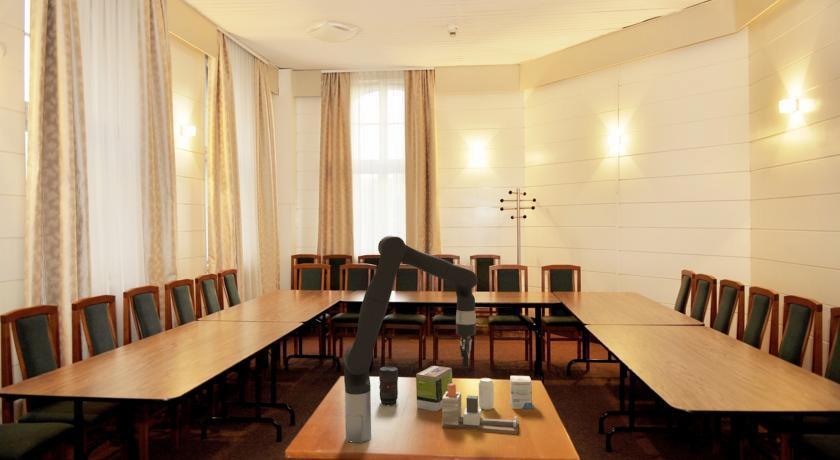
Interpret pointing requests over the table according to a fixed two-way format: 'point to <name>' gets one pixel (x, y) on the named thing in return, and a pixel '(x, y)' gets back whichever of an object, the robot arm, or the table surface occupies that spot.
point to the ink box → (521, 392)
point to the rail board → (455, 421)
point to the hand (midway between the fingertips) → (465, 367)
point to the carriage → (472, 411)
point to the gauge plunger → (451, 390)
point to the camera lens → (388, 385)
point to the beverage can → (486, 394)
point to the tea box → (432, 387)
